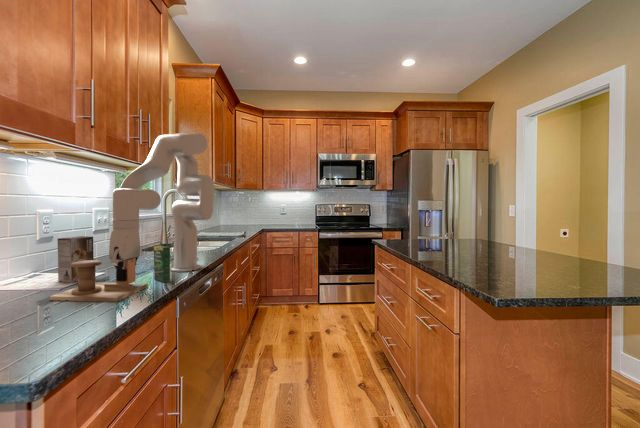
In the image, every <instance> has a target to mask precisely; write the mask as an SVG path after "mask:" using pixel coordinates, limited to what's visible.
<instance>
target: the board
mask: <svg viewBox="0 0 640 428" xmlns="http://www.w3.org/2000/svg"><path fill="white" fill-rule="evenodd" d="M95 286H100V287H102V290H101V291H100V292H97V293H93V294H88V295H72V290H74V289H76V288H78V286H77V287H73V288H71V289H68V290H65V291H61V292H58V293H55V294H53V295H50V296H49V301H59V300H60V302H62V301H63V302H65V301H66V300H68V301H69V302H111V303H113V302H118V301H121V300H123V299H126V298H127V297H130V296H132V295H134V294H137V293H138V292H140V291H143V290H144V289H146V288H149V283H147V282H146V283H143V282H141V283H140V282H139V283H138V282H132V283H130V284H116V282H99V281H98V282H96V281H95ZM68 301H67V302H68Z"/></svg>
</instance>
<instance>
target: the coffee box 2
mask: <svg viewBox="0 0 640 428" xmlns="http://www.w3.org/2000/svg"><path fill="white" fill-rule="evenodd" d="M170 267H171V247H170V246H164V245H155V246H153V273H154V274H153V277H154V279H153V280H155V281H158V282H161V283H169V282H171V270H170Z"/></svg>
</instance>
